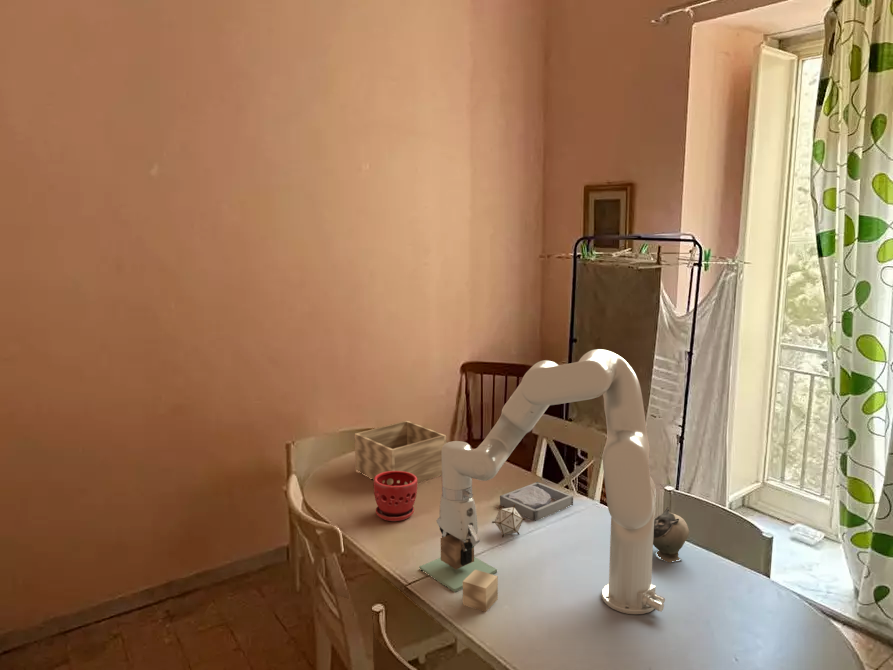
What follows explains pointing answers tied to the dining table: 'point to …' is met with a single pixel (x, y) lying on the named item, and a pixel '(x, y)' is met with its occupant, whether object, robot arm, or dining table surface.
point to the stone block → (531, 497)
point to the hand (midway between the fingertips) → (457, 557)
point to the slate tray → (536, 514)
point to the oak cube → (480, 590)
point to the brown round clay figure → (669, 535)
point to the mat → (454, 572)
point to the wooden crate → (400, 451)
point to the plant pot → (395, 495)
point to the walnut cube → (452, 551)
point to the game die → (508, 520)
